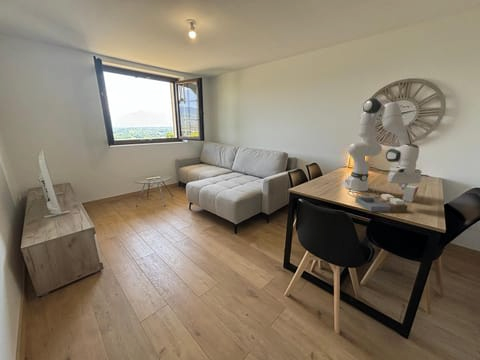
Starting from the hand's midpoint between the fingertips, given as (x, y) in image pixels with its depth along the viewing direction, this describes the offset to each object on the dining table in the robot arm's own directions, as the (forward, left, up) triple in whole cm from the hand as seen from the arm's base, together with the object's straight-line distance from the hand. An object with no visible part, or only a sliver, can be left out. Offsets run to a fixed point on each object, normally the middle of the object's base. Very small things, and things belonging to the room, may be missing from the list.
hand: (401, 189), depth 132 cm
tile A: (-1, -8, -7) cm, 11 cm away
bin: (+3, -21, -11) cm, 24 cm away
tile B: (+7, -8, -7) cm, 13 cm away
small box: (-9, +15, -11) cm, 20 cm away
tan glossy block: (+3, -9, -11) cm, 15 cm away
